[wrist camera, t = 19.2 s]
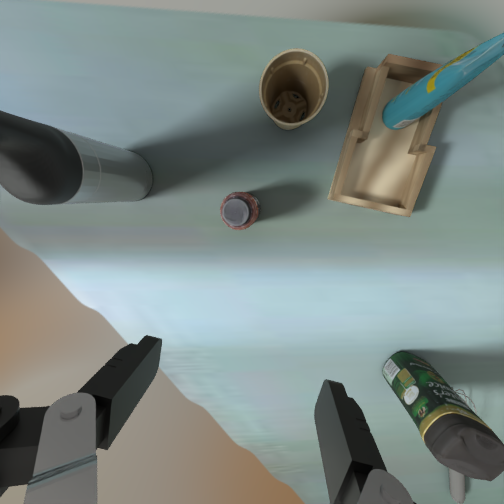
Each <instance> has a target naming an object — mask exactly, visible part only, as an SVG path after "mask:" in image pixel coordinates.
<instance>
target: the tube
mask: <svg viewBox="0 0 504 504" xmlns="http://www.w3.org/2000/svg"><path fill="white" fill-rule="evenodd" d="M502 55H504V33H502V34H500V35H498V36H496V37H494V38H492V39H490V40H488V41H486V42H484V43H482V44H480V45H479V46H477V47H475V48H473V49H471V50H469V51H467V52H465V53H464V54H462V55H460V56H458V57H457V58H455V59H453V60H451V61H450V62H448V63H446V64H444V65H443V66H441V67H439V68H438V69H436V70H434V71H433V72H431V73H430V74H428V75H426V76H425V77H423V78H422V79H420V80H419V81H417V82H416V83H414V84H412V85H411V86H410V87H408V88H407V89H405V90H404V91H402V92H401V93H400V94H398V95H397V96H395V97H394V98H393V99H391V100H390V101H389V102H388V103H387V104H386V105H385V107H384V109H383V112H382V120H383V123H384V124H385V126H386V127H388V128H389V129H392V130H399V129H402V128H404V127H406V126H407V125H409V124H410V123H412V122H413V121H415V120H417V119H418V118H420V117H421V116H423V115H424V114H426V113H427V112H428V111H430V110H431V109H433V108H434V107H436V106H437V105H439V104H440V103H441V102H443V101H444V100H446V99H447V98H448V97H450V96H451V95H452V94H454V93H455V92H456V91H458V90H459V89H460V88H462V87H463V86H464V85H466V84H467V83H468V82H470V81H471V80H472V79H474V78H475V77H476V76H477V75H479V74H480V73H481V72H482V71H484V70H485V69H486V68H488V67H489V66H490V65H491V64H493V63H494V62H495V61H496V60H498V59H499V58H500V57H501V56H502Z"/></svg>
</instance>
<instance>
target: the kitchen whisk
mask: <svg viewBox="0 0 504 504" xmlns="http://www.w3.org/2000/svg"><path fill="white" fill-rule="evenodd" d="M451 388H452V387H451ZM452 389H453V388H452ZM458 390H460V389H458ZM458 390H456V391H458ZM461 391H463V390H461ZM463 392H464V391H463ZM455 393H458V392H455ZM459 394H461V393H459ZM464 394H465V393H464ZM464 394H462V395H464ZM457 395H458V394H457ZM458 396H459V395H458ZM464 396H465V399H466V397H467V396H466V395H464ZM459 397H460V396H459ZM460 398H461V397H460ZM467 398H469V397H467ZM461 399H462V398H461ZM469 399H470V398H469ZM462 400H463V399H462ZM470 400H471V399H470ZM463 401H464V400H463ZM471 401H472V400H471ZM464 402H465V401H464ZM465 403H466V402H465ZM472 403H473V402H472ZM466 404H467V403H466ZM473 404H474V403H473ZM467 406H468V405H467ZM468 407H469V406H468ZM474 408H475V405H474ZM475 414H476V408H475ZM449 480H450V494H451V496H452V498H453V499H454V500H455V501H456V502H457V504H458V503H459V504H462V503H464V501H465V475H463V474H461V473H458V472H456V471H454V470H452V469H450V468H449Z"/></svg>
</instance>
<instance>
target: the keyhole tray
mask: <svg viewBox="0 0 504 504" xmlns="http://www.w3.org/2000/svg"><path fill="white" fill-rule="evenodd" d="M441 66H443V65H441V64H436V63H431V62H426V61H421V60H416V59H411V58H406V57H401V56H397V55H392V54H388V55H387V56H386V58H385V59H384V60H383V61H382V63H381V64H380V65H379V66H378V68H377V69H376V68H372V67H367V68H366V69H365V71H364V75H363V78H362V82H361V85H360V89H359V92H358V95H357V99H356V102H355V106H354V109H353V113H352V116H351V120H350V123H349V127H348V130H347V133H346V137H345V140H344V144H343V147H342V151H341V154H340V158H339V161H338V164H337V168H336V171H335V175H334V178H333V182H332V185H331V189H330V192H329V196H328V199H329V200H333V201H338V202H342V203H346V204H351V205H355V206H360V207H364V208H369V209H373V210H378V211H382V212H387V213H391V214H396V215H401V216H408V217H410V216H411V213H412V210H413V208H414V205H415V202H416V200H417V197H418V194H419V192H420V189H421V187H422V184H423V181H424V179H425V176H426V173H427V171H428V168H429V166H430V163H431V160H432V158H433V155H434V152H435V150H436V147H435V146H430V145H427V143H428V141H429V138H430V135H431V132H432V130H433V127H434V124H435V122H436V119H437V116H438V114H439V111H440V108H441V105H442V103H443V102H441V103H440V104H439V105H437V106H436V107H434V108H433V109H431V110H430V111H428V112H427V113H426V114H424V115H423V116H421V117H420V118H418V119H417V120H415V121H413V122H412V123H410V124H409V125H407V126H406V127H404V128H402V129H399V130H392V129H389V128H388V127H386V126H385V124H384V123H383V120H382V112H383V109H384V107H385V105H386V104H387V103H388V102H389V101H390V100H391V99H393V98H394V97H395V96H397V95H398V94H400V93H401V92H402V91H404V90H405V89H407V88H408V87H410V86H411V85H412V84H414V83H416V82H417V81H419V80H420V79H422V78H423V77H425V76H426V75H428V74H430V73H431V72H433V71H434V70H436V69H438V68H439V67H441Z"/></svg>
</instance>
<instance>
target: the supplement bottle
mask: <svg viewBox="0 0 504 504" xmlns="http://www.w3.org/2000/svg"><path fill="white" fill-rule="evenodd" d="M220 214H221V217H222V220H223V221H224V223H225V224H226V225H227V226H228V227H230V228H232V229H235V230H243V229H246V228H248V227H249V226H251V225H252V224H253V223H254V222H255V221H256V219H257V218H258V216H259V214H260V204H259V201H258V200H257V198H256V197H255V196H253V195H252V194H249V193H245V192H234V193H231V194H229V195H228V196H227V197H226V198H225V199H224V200H223V202H222V204H221V208H220Z"/></svg>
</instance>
